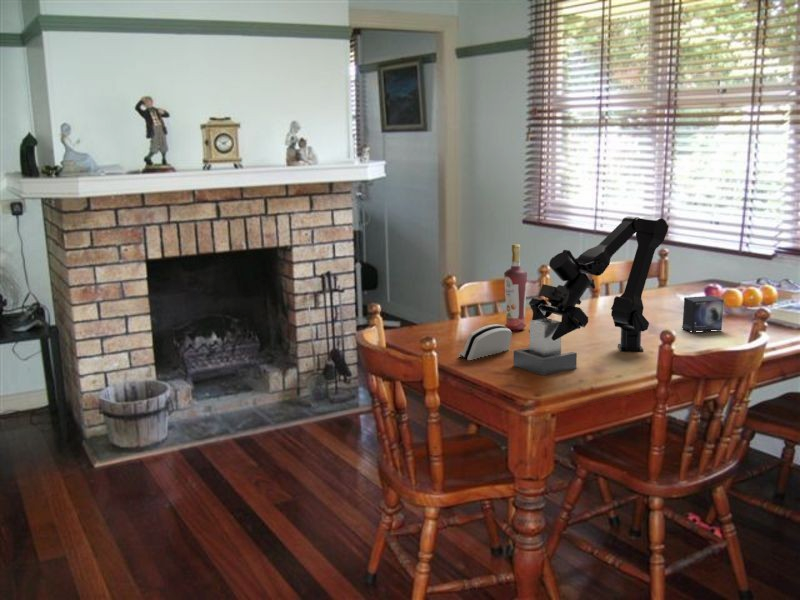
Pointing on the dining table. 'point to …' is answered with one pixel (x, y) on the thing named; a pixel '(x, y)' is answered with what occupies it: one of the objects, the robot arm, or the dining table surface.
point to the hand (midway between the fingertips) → (541, 336)
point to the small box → (702, 313)
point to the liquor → (515, 292)
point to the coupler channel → (544, 362)
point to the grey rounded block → (487, 341)
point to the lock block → (544, 338)
